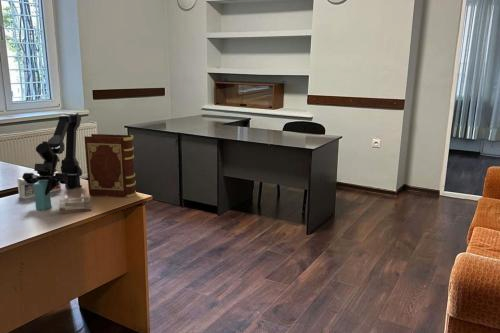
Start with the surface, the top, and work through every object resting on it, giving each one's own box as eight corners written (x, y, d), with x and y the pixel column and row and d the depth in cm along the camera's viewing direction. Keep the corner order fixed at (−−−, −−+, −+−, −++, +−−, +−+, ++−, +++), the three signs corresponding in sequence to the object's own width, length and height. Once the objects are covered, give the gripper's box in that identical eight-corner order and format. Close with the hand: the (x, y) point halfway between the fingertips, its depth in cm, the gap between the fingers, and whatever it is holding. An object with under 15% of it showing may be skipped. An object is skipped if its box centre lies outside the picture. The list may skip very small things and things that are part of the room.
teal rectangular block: (42, 205, 192) (39, 180, 189) (51, 205, 192) (48, 180, 189) (36, 209, 186) (33, 184, 183) (45, 210, 186) (42, 184, 183)
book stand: (59, 201, 198) (58, 193, 197) (88, 198, 203) (88, 190, 202) (59, 214, 181) (58, 205, 180) (91, 210, 186) (90, 202, 185)
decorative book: (138, 193, 213) (135, 135, 205) (132, 197, 205) (129, 137, 198) (96, 191, 215) (91, 133, 207) (88, 195, 207) (83, 136, 200)
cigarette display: (25, 198, 201) (23, 180, 199) (19, 196, 204) (16, 178, 202) (63, 189, 218) (61, 171, 216) (56, 187, 221) (54, 170, 218)
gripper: (21, 155, 187) (11, 186, 179) (63, 156, 188) (54, 186, 179) (32, 168, 197) (23, 197, 189) (72, 168, 197) (64, 198, 189)
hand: (40, 194), depth 186 cm, fingers closed on teal rectangular block, 4 cm apart
